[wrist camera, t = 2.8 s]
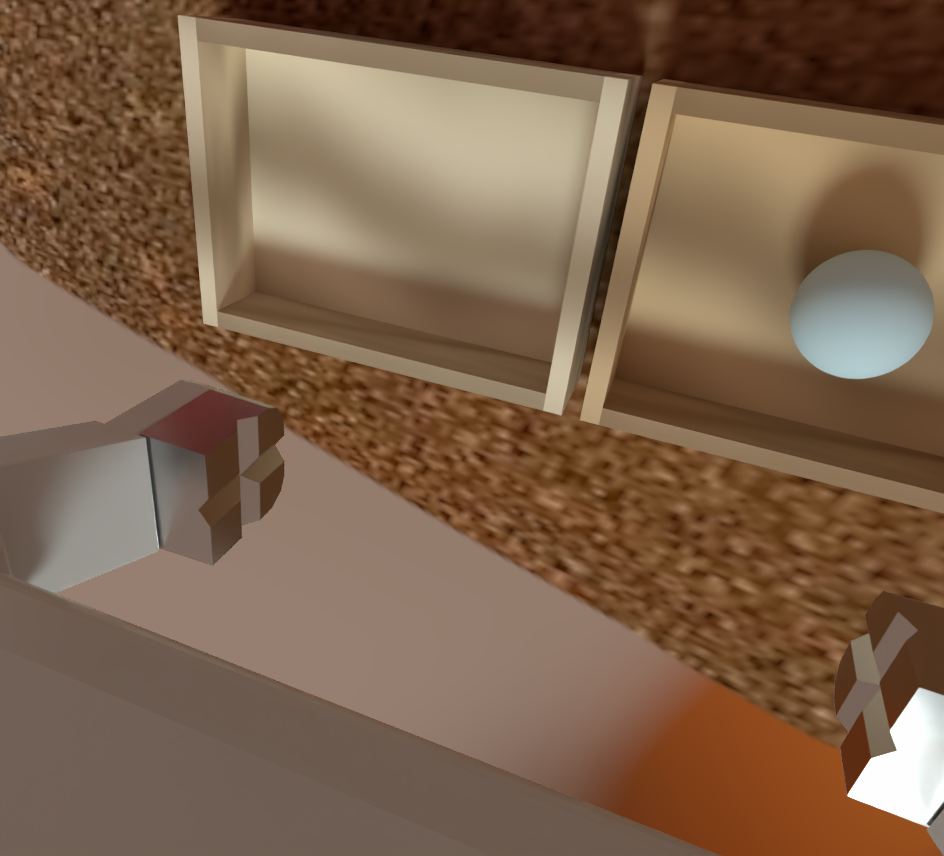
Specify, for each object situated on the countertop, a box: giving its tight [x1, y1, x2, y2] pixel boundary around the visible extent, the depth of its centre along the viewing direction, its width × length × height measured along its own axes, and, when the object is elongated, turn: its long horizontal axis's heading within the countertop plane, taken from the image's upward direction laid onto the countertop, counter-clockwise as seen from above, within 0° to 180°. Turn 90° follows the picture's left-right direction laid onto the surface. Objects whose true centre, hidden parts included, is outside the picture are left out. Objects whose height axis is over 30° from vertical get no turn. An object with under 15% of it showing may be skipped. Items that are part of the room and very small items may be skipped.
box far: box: [178, 15, 643, 415], centre depth 23 cm, size 10×13×3 cm
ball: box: [790, 250, 935, 379], centre depth 19 cm, size 3×3×3 cm
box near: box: [580, 79, 944, 513], centre depth 20 cm, size 10×13×3 cm
